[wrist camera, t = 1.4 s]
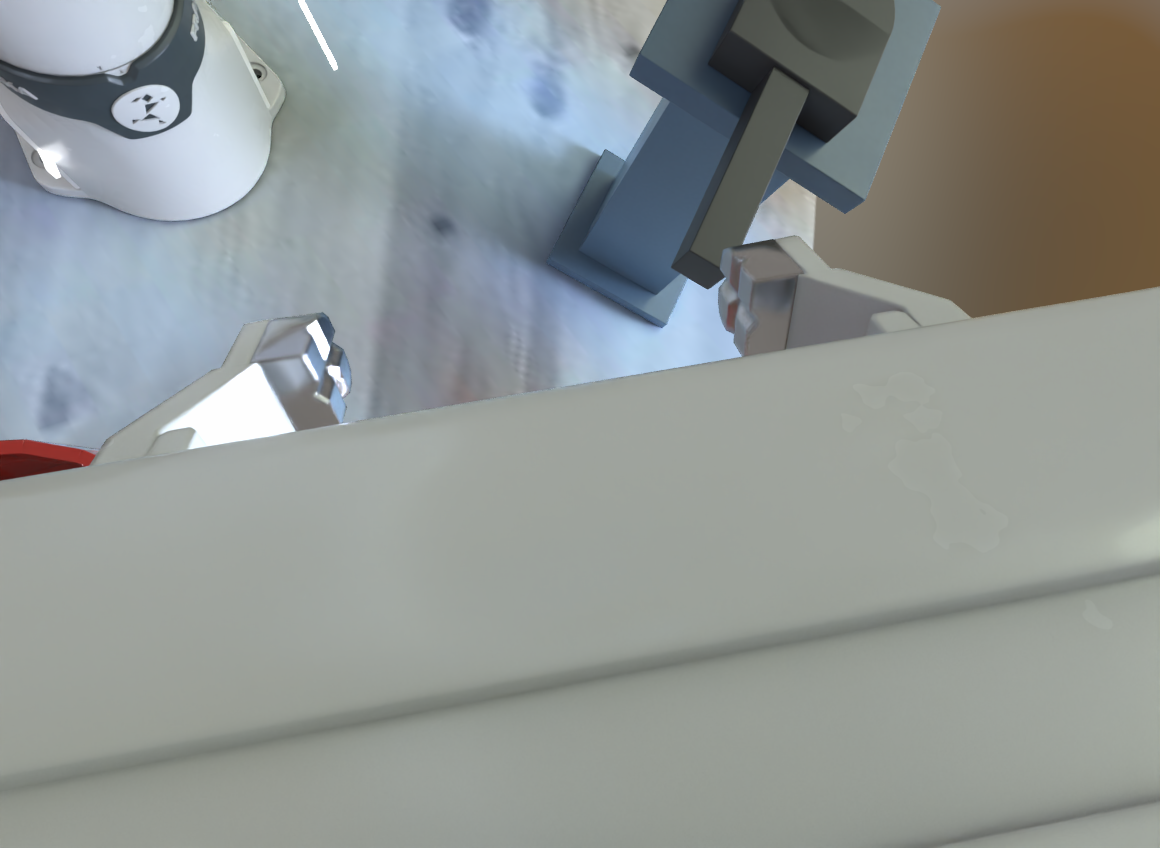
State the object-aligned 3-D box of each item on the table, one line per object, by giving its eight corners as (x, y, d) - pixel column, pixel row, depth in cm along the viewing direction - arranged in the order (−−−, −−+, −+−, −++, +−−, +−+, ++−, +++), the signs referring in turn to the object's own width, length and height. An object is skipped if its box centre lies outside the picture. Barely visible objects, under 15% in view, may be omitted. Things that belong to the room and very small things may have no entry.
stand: (664, 335, 54) (865, 200, 29) (538, 265, 52) (639, 53, 27) (716, 220, 57) (941, 6, 32) (599, 148, 55) (741, -142, 30)
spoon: (754, 317, 27) (781, 302, 25) (620, 239, 26) (638, 216, 24) (880, 15, 31) (913, -20, 29) (769, -64, 30) (796, -107, 27)
